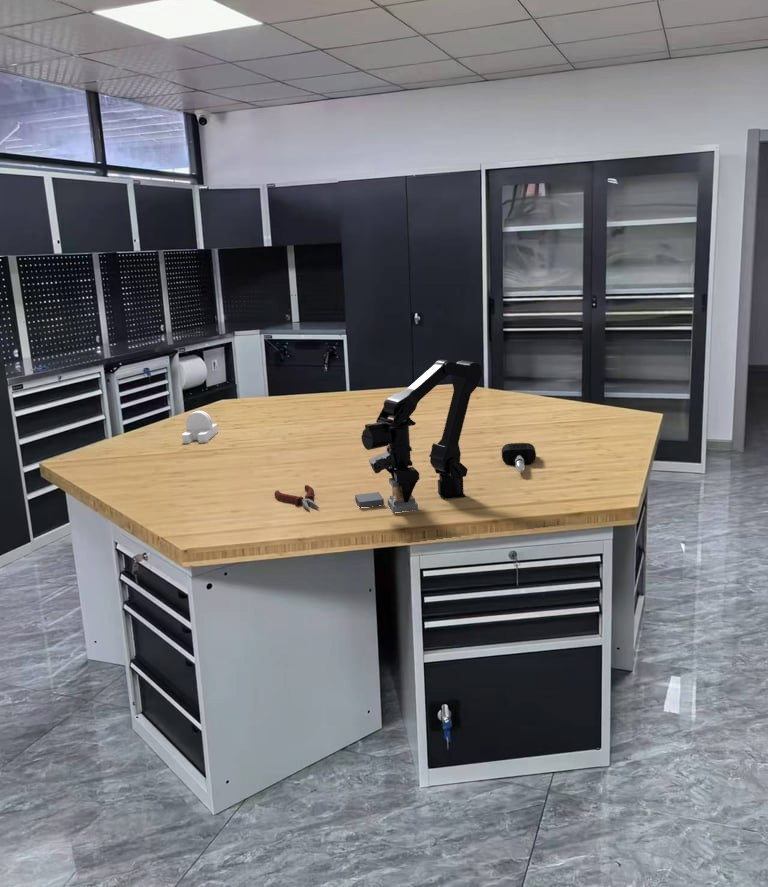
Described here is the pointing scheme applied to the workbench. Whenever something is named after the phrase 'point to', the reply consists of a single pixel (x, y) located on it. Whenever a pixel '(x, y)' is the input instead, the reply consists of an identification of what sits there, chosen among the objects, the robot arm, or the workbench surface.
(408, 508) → the stand
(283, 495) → the pliers
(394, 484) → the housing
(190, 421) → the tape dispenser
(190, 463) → the workbench surface
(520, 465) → the audio adapter
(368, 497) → the stand
